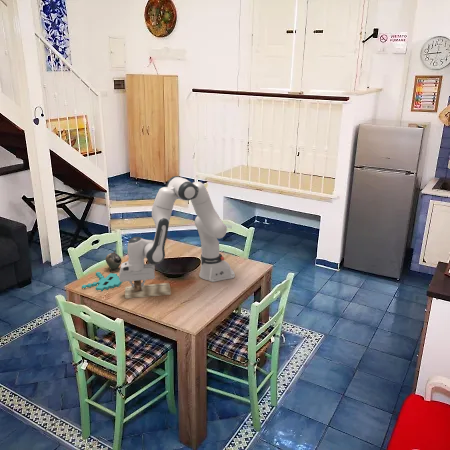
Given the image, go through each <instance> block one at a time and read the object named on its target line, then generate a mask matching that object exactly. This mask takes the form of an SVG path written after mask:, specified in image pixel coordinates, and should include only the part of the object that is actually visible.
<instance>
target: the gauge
mask: <svg viewBox="0 0 450 450" xmlns="http://www.w3.org/2000/svg"><path fill="white" fill-rule="evenodd" d="M133 283H134V291H142V289H141V283H142V280H137V281H133Z"/></svg>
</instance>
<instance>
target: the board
mask: <svg viewBox="0 0 450 450" xmlns="http://www.w3.org/2000/svg"><path fill="white" fill-rule="evenodd" d="M170 284H171V283H170V282H164V283H152V284H144V286H143V287H141V289H142V291H134V287H132V285H129V286H125V287H124V298H125V299H126V300H127V299H128V300H129V299H137V298H138V299H139V298H147V297H158V296H159V297H161V296H169V295H172V289H171V286H170Z"/></svg>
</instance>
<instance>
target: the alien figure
mask: <svg viewBox="0 0 450 450" xmlns="http://www.w3.org/2000/svg"><path fill="white" fill-rule="evenodd" d="M95 276H96V277H97V278H98V281H93V282H92V283H91V282H90V283H88V284H82V285H81V289H82V288H86V287H91V286H92V287H94V286H96V285H97V284H98V285H97V286H96V287H95V291H96V290H101V291H100V292H104V291H105V290H104V289H106V291H108V290H109V289H112V288H113V289H114V288H119V287H120V286H121V285H122V283H123V282H120V281H119V275H118V273H114V272H113V273H112V272H109V274H108V275H107V276H106V277H105V276H104V275H103V273H101V272H100V271H96V272H95ZM92 287H91V288H92ZM86 289H87V288H86ZM103 290H104V291H103Z"/></svg>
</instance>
